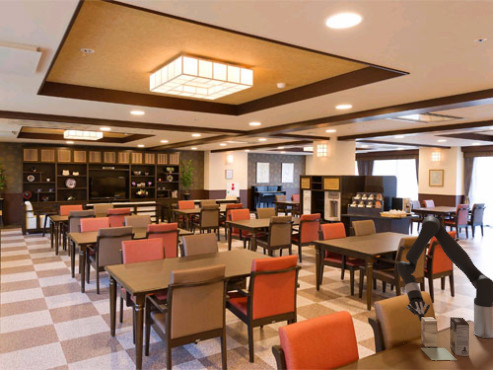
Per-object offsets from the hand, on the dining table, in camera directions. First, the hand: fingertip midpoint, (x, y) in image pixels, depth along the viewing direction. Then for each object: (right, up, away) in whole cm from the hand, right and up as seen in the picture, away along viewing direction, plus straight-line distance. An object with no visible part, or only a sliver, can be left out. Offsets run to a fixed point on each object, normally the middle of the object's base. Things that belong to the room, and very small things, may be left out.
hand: (423, 321), depth 206 cm
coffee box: (+12, -10, -15) cm, 21 cm away
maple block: (0, -10, -7) cm, 12 cm away
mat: (0, -10, -17) cm, 20 cm away
